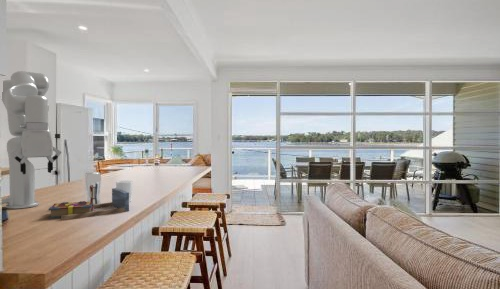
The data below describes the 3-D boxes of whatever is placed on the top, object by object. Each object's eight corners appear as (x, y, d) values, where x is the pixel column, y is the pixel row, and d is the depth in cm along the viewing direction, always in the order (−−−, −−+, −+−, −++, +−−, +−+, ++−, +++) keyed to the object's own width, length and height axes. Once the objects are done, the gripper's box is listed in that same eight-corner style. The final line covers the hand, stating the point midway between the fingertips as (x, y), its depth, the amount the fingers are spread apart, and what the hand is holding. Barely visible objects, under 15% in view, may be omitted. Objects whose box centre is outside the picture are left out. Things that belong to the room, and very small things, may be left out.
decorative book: (54, 213, 141) (54, 201, 141) (96, 210, 147) (96, 199, 147) (48, 220, 130) (48, 207, 130) (94, 216, 136) (94, 204, 136)
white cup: (135, 200, 169) (135, 180, 169) (128, 203, 162) (128, 182, 161) (120, 199, 170) (120, 180, 170) (112, 202, 162) (112, 182, 162)
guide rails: (62, 220, 128) (62, 199, 128) (53, 212, 140) (53, 193, 140) (128, 210, 145) (128, 192, 145) (115, 205, 157) (115, 188, 157)
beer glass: (104, 203, 160) (104, 172, 159) (92, 206, 154) (92, 174, 153) (94, 202, 163) (94, 171, 162) (81, 205, 156) (81, 173, 156)
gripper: (10, 127, 120) (10, 175, 121) (64, 128, 132) (64, 172, 132) (7, 127, 126) (8, 173, 126) (59, 128, 137) (60, 171, 138)
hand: (37, 172), depth 129 cm, fingers open, 7 cm apart
